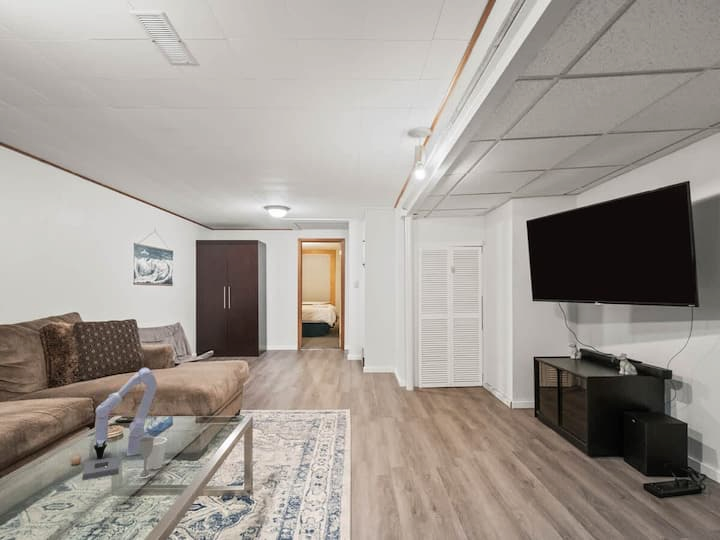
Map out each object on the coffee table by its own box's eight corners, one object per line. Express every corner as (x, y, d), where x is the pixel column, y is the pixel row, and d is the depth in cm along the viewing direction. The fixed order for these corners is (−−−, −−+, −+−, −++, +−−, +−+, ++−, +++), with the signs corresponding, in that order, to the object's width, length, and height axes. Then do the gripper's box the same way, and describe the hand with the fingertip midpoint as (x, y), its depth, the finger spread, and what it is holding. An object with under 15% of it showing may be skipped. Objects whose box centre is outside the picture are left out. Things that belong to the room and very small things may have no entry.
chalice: (156, 474, 195) (158, 437, 196) (144, 481, 189) (146, 442, 189) (144, 471, 198) (146, 434, 198) (132, 477, 191) (134, 439, 192)
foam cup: (156, 472, 197) (158, 445, 197) (140, 470, 199) (141, 443, 199) (169, 463, 207) (170, 438, 207) (153, 461, 208) (154, 435, 209)
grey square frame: (118, 461, 207) (118, 456, 207) (117, 473, 195) (118, 468, 195) (84, 466, 200) (85, 461, 200) (82, 479, 188) (82, 474, 188)
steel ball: (104, 456, 212) (105, 448, 212) (104, 459, 208) (104, 451, 208) (95, 457, 209) (96, 449, 210) (95, 460, 206) (95, 453, 206)
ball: (81, 461, 205) (81, 453, 205) (80, 465, 201) (80, 456, 201) (71, 463, 203) (71, 455, 203) (70, 466, 199) (71, 458, 199)
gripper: (93, 425, 213) (91, 451, 213) (91, 435, 201) (89, 462, 200) (108, 423, 217) (107, 448, 217) (108, 433, 204) (106, 460, 204)
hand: (100, 455), depth 209 cm, fingers open, 7 cm apart
